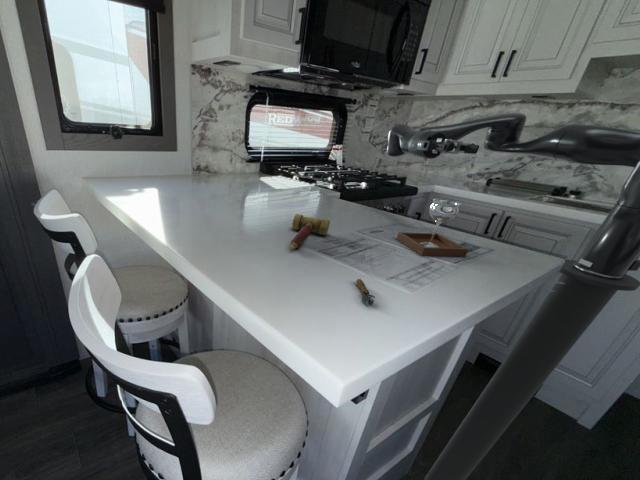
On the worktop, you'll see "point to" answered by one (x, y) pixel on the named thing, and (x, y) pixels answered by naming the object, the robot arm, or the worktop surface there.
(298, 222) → the gavel
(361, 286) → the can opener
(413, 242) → the tray
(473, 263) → the worktop surface
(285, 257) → the worktop surface
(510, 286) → the worktop surface
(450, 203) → the wineglass
